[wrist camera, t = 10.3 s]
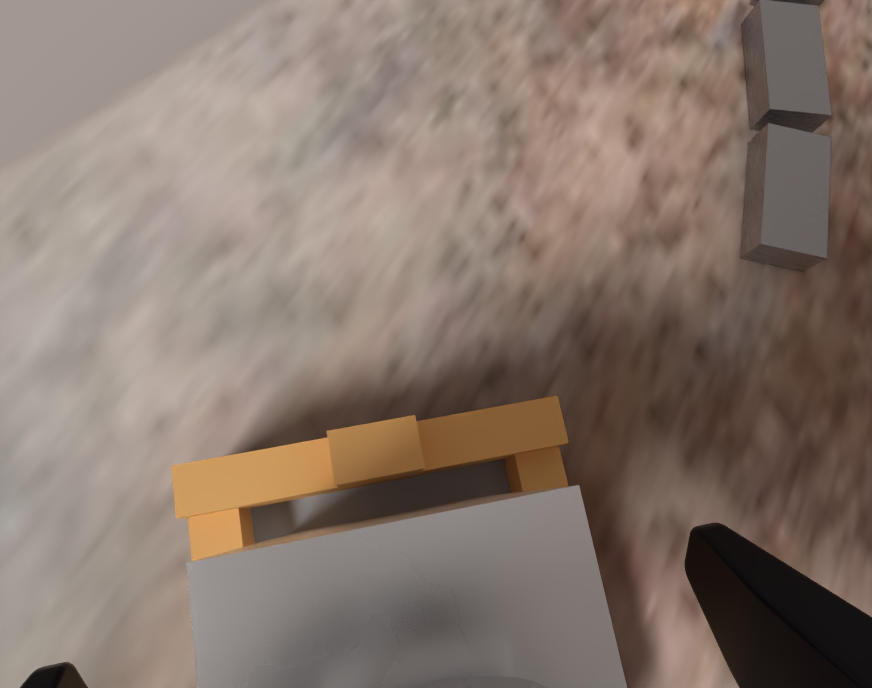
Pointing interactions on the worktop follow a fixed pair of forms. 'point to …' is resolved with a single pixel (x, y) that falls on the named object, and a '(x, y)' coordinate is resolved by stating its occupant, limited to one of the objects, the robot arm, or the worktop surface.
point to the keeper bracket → (369, 473)
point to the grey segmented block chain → (786, 135)
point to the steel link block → (413, 602)
